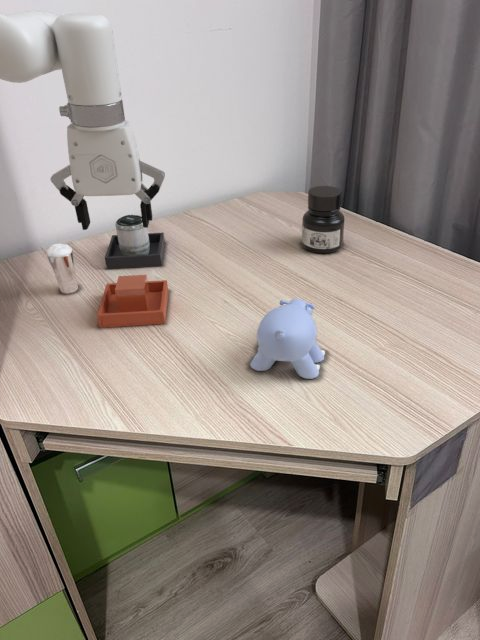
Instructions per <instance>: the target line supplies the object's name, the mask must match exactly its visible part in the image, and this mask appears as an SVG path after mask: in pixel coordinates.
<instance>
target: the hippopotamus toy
mask: <svg viewBox="0 0 480 640" xmlns="http://www.w3.org/2000/svg"><path fill="white" fill-rule="evenodd" d="M279 305H280V306H277V307H275V308H273V309H271V310H269V311H268V312H267V313H266V314H265V315H264V316H263V318H262V319H261V320H260V322H259V324H258V327H257V331H256V341H257V345H258V347H257V353H256V354H255V355H254V357H253V359H252V360H251V361H250V363H249V366H250V368H251V369H253V370H254V371H257V372H265V371H268V370H270V369H271V368H272V366H273V365H274V364H275V362H276V361H279V362H290V364H291V365H292V366H293V368H294V370H295V372H296V374H297V375H298V376H299V377H301V378H303V379H307V380H312V379H316V378H318V376H319V375H320V368H321V366H320V364H319V363H321V362H323V361H324V359H325V355H326V351H325V350H324V349H321V348H320V346H319V344H318V342H317V340H316V339H317V336H318V330H317V329H318V328H317V324H316V321H315V319H314V318H313V310H315V309H316V306H315V304H314V303H310V302H306V300H304V299H300V298H292V299H291V300H289V301H288V300H285V299H281V300H280V301H279Z"/></svg>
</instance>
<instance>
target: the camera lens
mask: <svg viewBox="0 0 480 640" xmlns="http://www.w3.org/2000/svg"><path fill="white" fill-rule="evenodd" d="M114 225H115V230H116V235H117V236H118V241H119V247H120V250H121V252H122V255H123V256H130V255H148V254H149V249H150V243H149V236H148V233H149V230H148V228H144V227H143V222H142V215H137V214H127V215H124V216H123V215H122V216H121V217H119V218H118V219H116V221H115V224H114Z"/></svg>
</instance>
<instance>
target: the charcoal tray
mask: <svg viewBox="0 0 480 640" xmlns="http://www.w3.org/2000/svg"><path fill="white" fill-rule="evenodd" d="M148 236H149V243H150V249H149V254H148V255H130V256H123V255H122V252H121V250H120V247H119V241H118V236H117V234H113V235H112V234H111V237H110V241H109V243H108V247H107V249H106V253H105V255H104V263H105V267H106V270H114V269H132V268H133V269H134V268H148V267H162V266H163V259H164V253H165V246H166V240H165V239H166V238H165V233H164V232H148Z"/></svg>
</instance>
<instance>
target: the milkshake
mask: <svg viewBox="0 0 480 640" xmlns="http://www.w3.org/2000/svg"><path fill="white" fill-rule="evenodd" d="M40 248H41V250H42V251H43V252H44V253H45V254H46V257H47V260H48V261H49V264H50V267H51V269H52V271H53V274H54V277H55V279H56V283H57V285H58V287H59V290H60V293H61V294H65V295H67V294H69V295H70V294H73V293H75V292H77V291H78V289H79V286H78V285H79V284H78V279H77V273H76V267H75V260H74V253H73V248H72V246H70V245H68V244H66V243H56V244H55V243H54V244H51V245H50V246H49V247H48V248H47V249H46V250H45V249H44V248H43V247H42V246H40Z"/></svg>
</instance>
